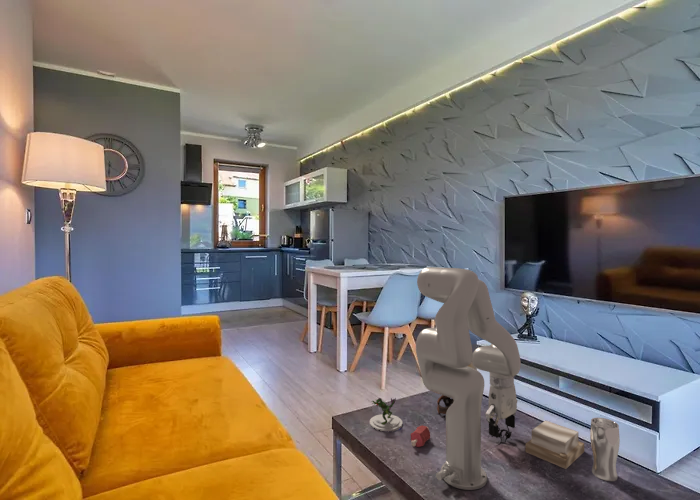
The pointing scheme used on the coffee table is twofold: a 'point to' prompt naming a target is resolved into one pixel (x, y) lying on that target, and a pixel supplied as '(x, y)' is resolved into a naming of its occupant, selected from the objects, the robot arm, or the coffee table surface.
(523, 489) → the coffee table surface
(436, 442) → the coffee table surface
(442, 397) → the pottery mug
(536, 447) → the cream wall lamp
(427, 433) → the meat
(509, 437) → the creature
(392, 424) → the monster figurine
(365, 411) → the coffee table surface
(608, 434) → the beer glass
